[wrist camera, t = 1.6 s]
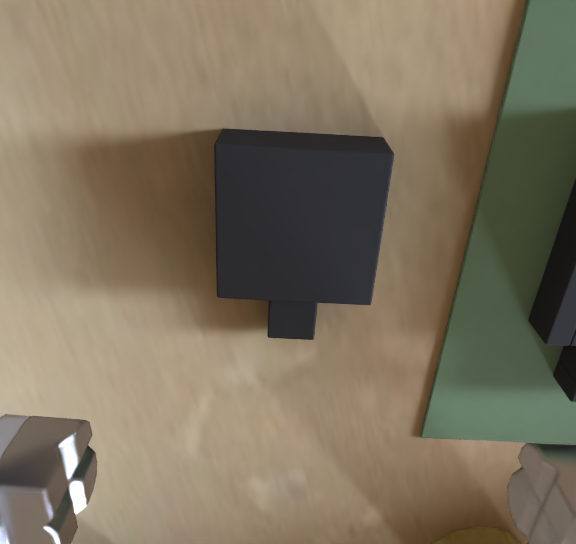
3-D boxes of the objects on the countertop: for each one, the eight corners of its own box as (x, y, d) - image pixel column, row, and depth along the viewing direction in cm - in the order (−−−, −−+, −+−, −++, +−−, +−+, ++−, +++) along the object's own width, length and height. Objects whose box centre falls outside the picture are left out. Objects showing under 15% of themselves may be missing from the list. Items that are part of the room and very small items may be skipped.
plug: (224, 123, 19) (214, 143, 17) (380, 132, 19) (394, 153, 17) (226, 310, 23) (217, 350, 21) (355, 316, 23) (363, 357, 21)
